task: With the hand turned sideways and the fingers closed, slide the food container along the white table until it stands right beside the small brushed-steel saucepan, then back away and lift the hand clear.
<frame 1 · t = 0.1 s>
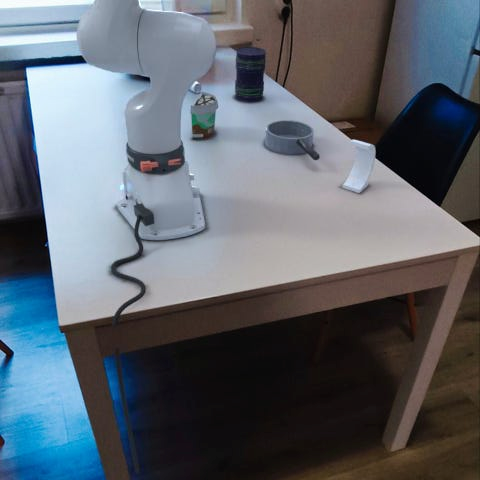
storage jar: (248, 98, 168), on the table
frying pan: (168, 80, 180), on the table
saucepan handle: (307, 148, 129), point 3 cm above the table
headphone stand: (355, 186, 122), on the table
saucepan: (288, 144, 139), on the table
food container: (207, 134, 143), on the table
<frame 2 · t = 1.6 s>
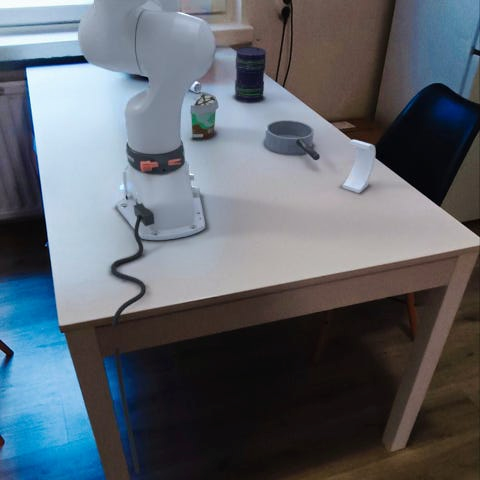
hand: (158, 36, 125), 26 cm above the table, tool pointing down, fingers open, 8 cm apart
nothing on the table moved.
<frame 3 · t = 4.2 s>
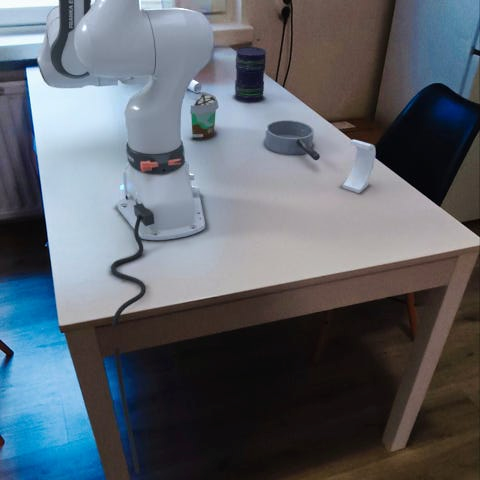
hand: (162, 63, 126), 20 cm above the table, tool horizontal, fingers closed
nothing on the table moved.
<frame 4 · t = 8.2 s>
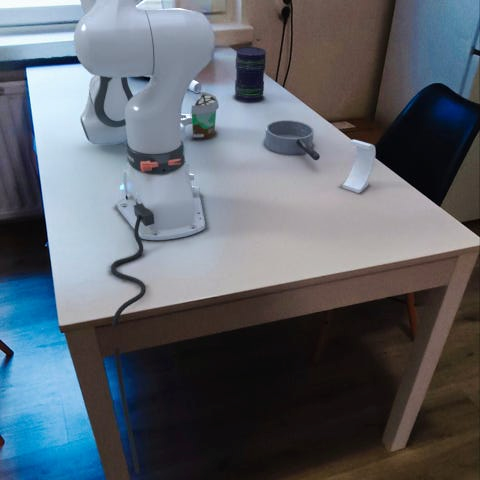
hand: (192, 118, 138), 5 cm above the table, tool horizontal, fingers closed
food container: (207, 134, 143), on the table, touching gripper
everything else where it was.
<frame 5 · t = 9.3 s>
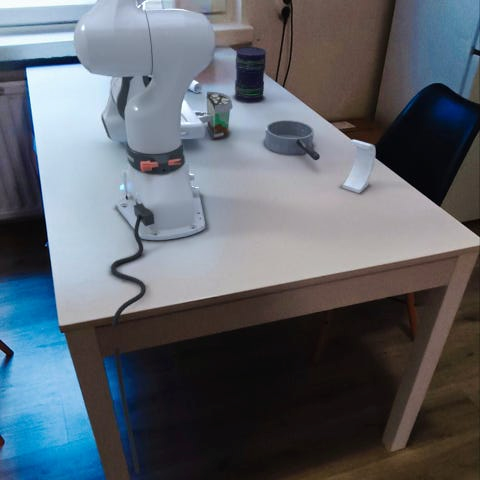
hand: (210, 116, 140), 5 cm above the table, tool horizontal, fingers closed, pressing on food container
food container: (220, 133, 144), on the table, touching gripper
everything else where it was.
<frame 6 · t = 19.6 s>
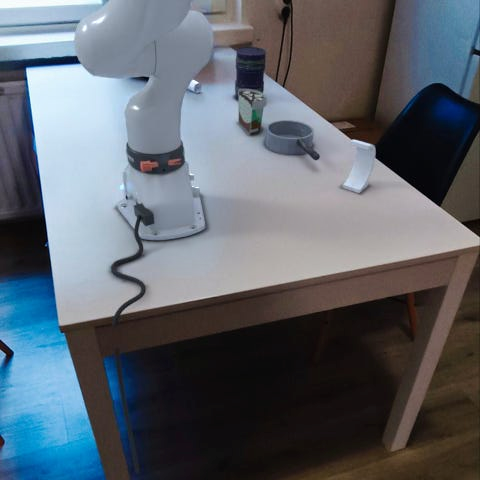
food container: (253, 128, 148), on the table
everything else where it was.
at the end: food container inside the target area (3.3 cm from its centre), on the table; food container 14.7 cm from the saucepan (horizontally); food container tilted 0° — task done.
